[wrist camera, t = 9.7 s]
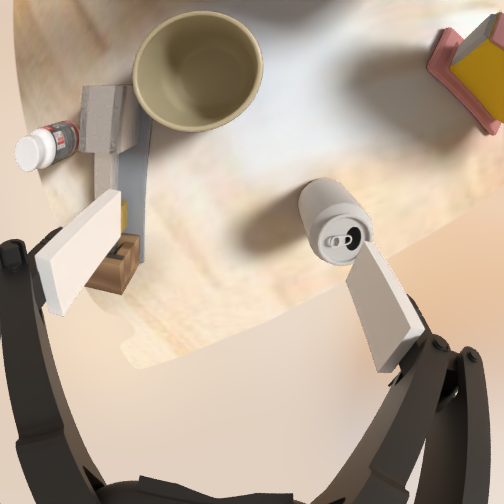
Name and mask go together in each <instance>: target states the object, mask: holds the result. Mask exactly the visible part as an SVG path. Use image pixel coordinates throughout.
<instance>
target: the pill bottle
mask: <svg viewBox="0 0 504 504" xmlns="http://www.w3.org/2000/svg"><path fill="white" fill-rule="evenodd" d="M78 147H79V129H78V127H77V126H76V125H75V124H74V123H73V122H71V121H62V122H58V123H55V124H51V125H48V126H44V127H41V128H38V129H36V130H34V131H32V132H31V133H30V135H27V136H25V137H23V138H21V139H20V140H19V141H18V143H17V145H16V149H15V158H16V162H17V164H18V166H19V167H20V168H21V169H22V170H23V171H26V172H30V171H33V170H35V169H44V168H47V167H49V166H51V165H53V164H55V163H57V162H59V161H61V160H63V159H65V158H67V157H69V156H71V155H73V154H74V153H75V152H76V151H77V149H78Z"/></svg>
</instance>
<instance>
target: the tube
mask: <svg viewBox="0 0 504 504" xmlns="http://www.w3.org/2000/svg"><path fill="white" fill-rule="evenodd" d="M118 165H119V154H117V155H115V154H103V153H95V158H94V197H95V200H96V199H97V198H98V197H99V196H101V195H102V194H103V193H104V192H106V191H107V190H108V189H111V190H117V191H118ZM127 226H128V200H121V233H122V232H123V231H124V230H125V228H126V227H127ZM118 251H119V241H117V242H116V243H115V245H114V246H113V247H112V249H111V250H110V251H109V252H108V253H112V254H116V253H117V252H118Z"/></svg>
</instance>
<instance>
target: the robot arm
mask: <svg viewBox="0 0 504 504" xmlns="http://www.w3.org/2000/svg"><path fill="white" fill-rule="evenodd" d="M120 237H121V191H117V190H111V189H108V190H107V191H106V192H104V193H103V194H102V195H101V196H99V197H98V198H97V199H96V200H95V201H93V202H92V203H91V204H90V205H89V206H88V207H86V208H85V209H84V210H83V211H82V212H81V213H79V214H78V215H77V216H76V217H75V218H74V219H73V220H72V221H70V222H69V223H68V224H67V225H66V226H65V227H64V228H62V227H59V228H57V229H55V230H53V231H51V232H50V233H49V234H48V235H47V236H46V237H45V239H43V240H42V241H41V242H40V243H39V244H37V245H36V246H35V247H34V248H33V249H32V250H31V251H30V252H29V253H28V254H27V251H26V247H25V243H24V241H22V240H19V239H11V240H8V241H5V242H3V243H2V244H1V245H0V338H1V337H2V348H3V358H4V366H5V373H6V379H7V385H8V391H9V396H10V400H11V405H12V410H13V415H14V418H15V423H16V426H17V430H18V434H19V439H18V440H17V441H16V451H17V455H18V458H19V461H20V464H21V467H22V469H23V472H24V475H25V478H26V480H27V483H28V486H29V488H30V490H31V492H32V495H33V498H34V500H35V502H36V504H305V503H303V502H300V501H297V500H293V493H289V494H288V493H285V494H276V493H275V494H274V493H270V494H269V493H254V494H249V495H243V496H236V497H228V498H213V497H210V496H207V495H204V494H202V493H199V492H196V491H193V490H191V489H189V488H186V487H184V486H182V485H179V484H176V483H170V482H166V481H161V480H157V479H153V478H149V477H144V476H140V477H139V481H123V482H117V483H113V484H110V485H106V483H105V481H104V479H103V478H102V476H101V474H100V472H99V471H98V469H97V468H96V466H95V464H94V463H93V461H92V460H91V458H90V456H89V454H88V452H87V449H86V447H85V446H84V443H83V441H82V438H81V436H80V434H79V431H78V429H77V427H76V424H75V422H74V419H73V417H72V414H71V411H70V409H69V406H68V403H67V400H66V398H65V395H64V392H63V389H62V386H61V383H60V379H59V376H58V373H57V369H56V366H55V362H54V359H53V355H52V351H51V347H50V343H49V339H48V334H47V330H46V325H45V321H44V315H43V312H42V308H41V307H42V306H43V304H44V303H45V302H46V303H47V307H48V310H49V312H50V313H53V314H56V315H59V316H62V317H64V315H65V314H66V312H67V311H68V309H69V308H70V306H71V305H72V303H73V302H74V300H75V299H76V297H77V295H78V294H79V293H80V291H81V290H82V288H83V287H84V285H85V284H86V283H87V281H88V280H89V278H90V277H91V276H92V274H93V273H94V271H95V270H96V269H97V267H98V266H99V265H100V263H101V262H102V260H103V259H104V258H105V256H106V255H107V254H108V252H109V251H110V250H111V249H112V247H113V246H114V245H115V243H116V242H117V241H118V239H119V238H120ZM346 283H347V286H348V288H349V291H350V294H351V296H352V299H353V302H354V304H355V307H356V310H357V313H358V316H359V318H360V321H361V324H362V327H363V330H364V333H365V336H366V339H367V342H368V345H369V348H370V351H371V354H372V357H373V360H374V363H375V366H376V370H377V372H378V373H379V372H380V373H391V372H392V371H393V370H394V369H395V368H396V366H397V365H398V364H399V366H400V369H401V371H400V372H399V374H398V375H397V376H396V377H395V378H394V379H393V381H392V382H391V383H390V384H389V385H388V386H389V387H390V386H391V385H392V386H391V388H390V390H389V392H388V394H387V396H386V398H385V399H384V401H383V403H382V405H381V407H380V409H379V410H378V412H377V414H376V416H375V417H374V419H373V421H372V423H371V424H370V426H369V428H368V429H367V431H366V432H365V434H364V436H363V437H362V439H361V441H360V442H359V444H358V445H357V447H356V448H355V450H354V451H353V453H352V454H351V456H350V457H349V459H348V460H347V462H346V463H345V465H344V466H343V467H342V469H341V470H340V472H339V473H338V474H337V476H336V477H335V478H334V480H333V481H332V482H331V484H330V485H329V486H328V488H327V489H326V490H325V491H324V492H323V493H322V494H320V495H319V496H318V497H317V498H316V499H315V500H314V501H312V502H311V504H406V503H407V501H408V498H409V492H408V491H407V490H406V489H405V485H406V483H407V481H408V479H409V476H410V474H411V472H412V470H413V468H414V466H415V463H416V461H417V459H418V456H419V454H420V451H421V449H422V446H423V444H424V441H425V439H426V443H425V450H424V456H423V463H422V468H421V473H420V479H419V484H418V489H417V493H416V497H415V501H414V504H488V496H489V485H490V465H491V464H490V463H491V443H490V441H491V440H490V419H489V407H488V397H487V389H486V381H485V375H484V368H483V362H482V359H481V357H480V355H479V353H478V352H477V351H476V350H475V349H473V348H471V347H468V346H467V347H464V348H463V350H462V351H461V352H460V353H456V352H454V351H451V350H450V347H449V344H448V343H447V342H446V340H444V339H443V338H442V337H441V336H438V335H436V334H432V332H431V330H430V328H429V327H428V325H427V323H426V321H425V319H424V317H423V316H422V314H421V312H420V310H419V309H418V306H417V305H416V303H415V301H414V300H413V299H412V298H411V297H410V296H409V295H408V294H406V293H405V291H404V289H403V288H402V286H401V284H400V283H399V281H398V279H397V278H396V276H395V274H394V272H393V271H392V269H391V268H390V266H389V264H388V263H387V261H386V259H385V258H384V256H383V255H382V253H381V251H380V250H379V248H378V247H377V245H376V244H375V243H371V242H367V241H363V244H362V246H361V248H360V250H359V253H358V255H357V257H356V259H355V262H354V264H353V266H352V268H351V270H350V273H349V275H348V277H347V279H346ZM457 391H458V393H457V395H456V397H455V393H456V392H457Z"/></svg>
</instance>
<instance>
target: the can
mask: <svg viewBox="0 0 504 504" xmlns="http://www.w3.org/2000/svg"><path fill="white" fill-rule="evenodd" d="M298 209H299V213H300V216H301V219H302V222H303V225H304V228H305V231H306V234H307V237H308V240H309V243H310V246H311V248H312V250H313V252H314V253H315V254H316V255H317V256H318V257H319V258H320V259H322V260H324V261H326V262H328V263H330V264H333V265H338V266H345V265H350V264H353V263H354V262H355V259H356V257H357V255H358V253H359V250H360V248H361V246H362V244H363V241H367V242H371V243H372V236H373V223H372V221H371V218H370V216H369V215H368V213H367V212H366V211H365V210H364V209H363V207H362V206H361V205H360V204H359V203H358V201H357V200H356V199H355V198H354V197H353V196H352V194H351V193H350V192H349V191H348V190H347V189H346V188H345V187H344V186H343V185H342V183H340V182H338V181H336V180H334V179H330V178H322V179H316V180H315V181H313V182H311V183H309V184H308V185H307V186H306V187H305V188H304V189H303V190H302V192H301V194H300V196H299V201H298Z"/></svg>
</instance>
